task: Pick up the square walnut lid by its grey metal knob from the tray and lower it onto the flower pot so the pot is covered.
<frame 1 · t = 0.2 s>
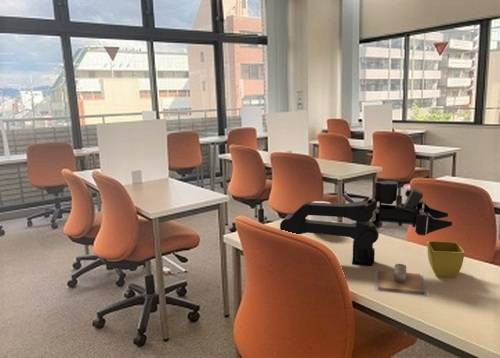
hand: (449, 219, 125), 17 cm above the table, tool horizontal, fingers open, 9 cm apart
mug: (321, 233, 168), on the table
tray: (399, 283, 120), on the table
flower pot: (443, 275, 126), on the table
lid: (399, 282, 120), resting on tray
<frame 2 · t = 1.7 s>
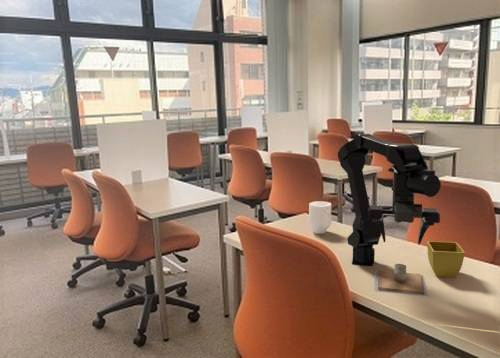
hand: (401, 243, 118), 12 cm above the table, tool pointing down, fingers open, 9 cm apart
nothing on the table moved.
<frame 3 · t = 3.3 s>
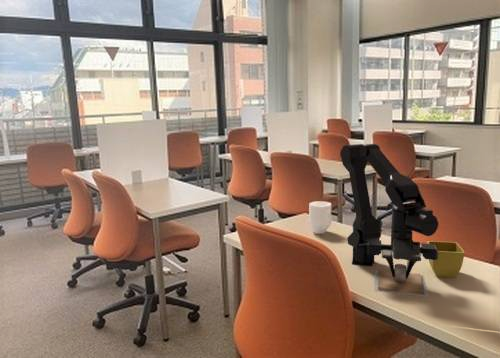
hand: (399, 277, 120), 2 cm above the table, tool pointing down, fingers closed on lid, 3 cm apart
lid: (399, 282, 120), resting on tray, touching gripper
everything else where it was.
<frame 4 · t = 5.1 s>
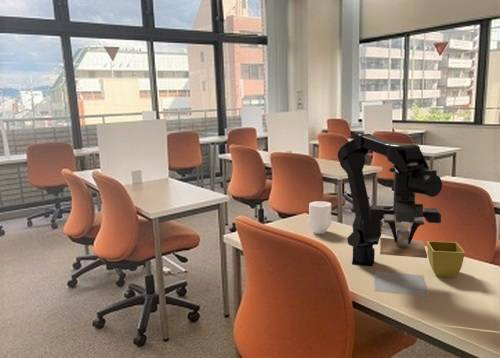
hand: (402, 242, 118), 12 cm above the table, tool pointing down, fingers closed on lid, 3 cm apart
lid: (402, 248, 118), point 11 cm above the table, touching gripper
everything else where it was.
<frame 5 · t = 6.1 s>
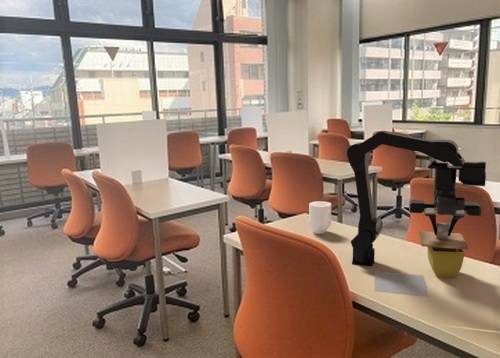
hand: (442, 235, 122), 13 cm above the table, tool pointing down, fingers closed on lid, 3 cm apart
lid: (441, 241, 123), point 11 cm above the table, touching gripper
everything else where it was.
when the fingers open (12 cm above the table, at t = 6.9 s): lid drops 1 cm, resting on flower pot.
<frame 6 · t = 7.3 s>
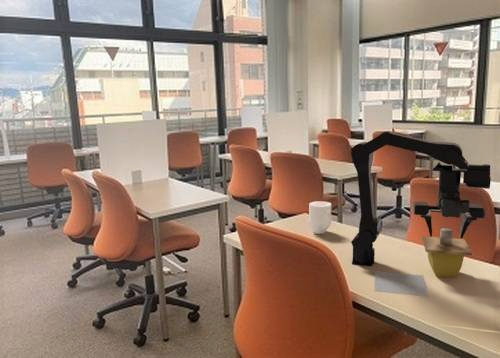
hand: (445, 237, 123), 12 cm above the table, tool pointing down, fingers open, 8 cm apart
flower pot: (443, 275, 126), on the table, touching lid
lid: (445, 246, 124), point 9 cm above the table, touching flower pot
everything else where it was.
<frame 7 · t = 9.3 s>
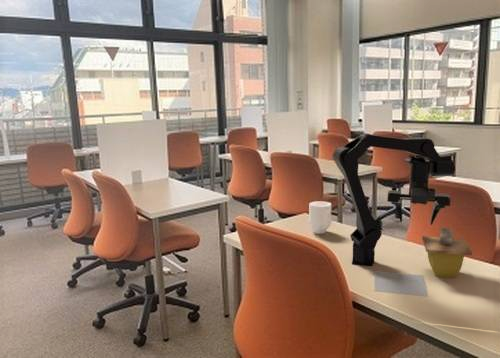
hand: (415, 223, 136), 12 cm above the table, tool pointing down, fingers open, 9 cm apart
nothing on the table moved.
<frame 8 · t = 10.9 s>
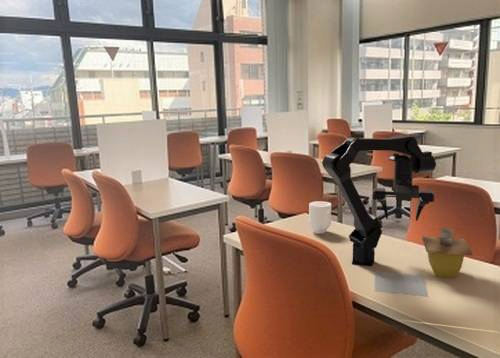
hand: (401, 219, 138), 13 cm above the table, tool pointing down, fingers open, 9 cm apart
nothing on the table moved.
at the end: lid 0.1 cm off-centre on the flower pot, point 9.2 cm above the flower pot's base; lid tilted 0°; lid touching flower pot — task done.
